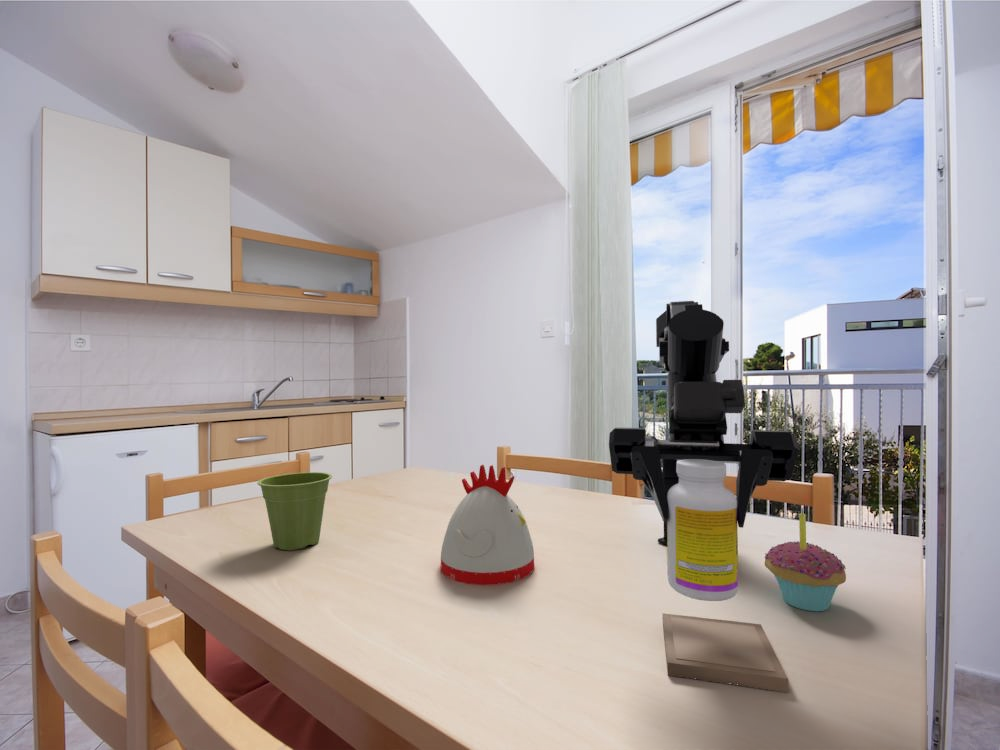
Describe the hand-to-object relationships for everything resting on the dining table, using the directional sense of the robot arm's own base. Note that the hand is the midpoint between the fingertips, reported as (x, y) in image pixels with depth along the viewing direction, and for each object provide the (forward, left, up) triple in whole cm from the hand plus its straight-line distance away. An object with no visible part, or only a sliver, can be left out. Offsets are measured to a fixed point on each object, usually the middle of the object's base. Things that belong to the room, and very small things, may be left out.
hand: (702, 522), depth 49 cm
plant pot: (-61, -25, -14) cm, 67 cm away
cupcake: (0, +21, -14) cm, 25 cm away
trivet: (0, +2, -13) cm, 13 cm away
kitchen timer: (-33, -4, -14) cm, 36 cm away
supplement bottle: (-1, +1, -7) cm, 7 cm away
